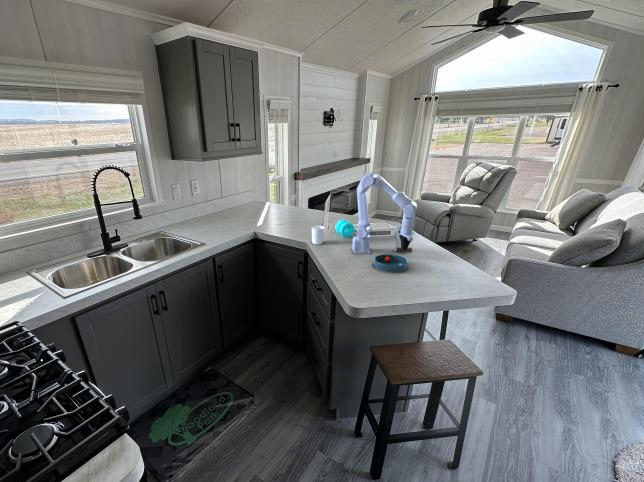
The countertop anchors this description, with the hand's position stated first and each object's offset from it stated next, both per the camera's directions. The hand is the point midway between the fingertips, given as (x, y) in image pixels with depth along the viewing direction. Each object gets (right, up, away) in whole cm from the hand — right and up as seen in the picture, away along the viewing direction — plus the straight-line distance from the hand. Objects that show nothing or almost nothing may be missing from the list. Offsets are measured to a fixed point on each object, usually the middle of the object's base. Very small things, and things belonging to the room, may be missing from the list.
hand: (404, 249), depth 177 cm
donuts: (-24, +16, +37) cm, 47 cm away
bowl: (-11, -10, -8) cm, 16 cm away
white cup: (-43, +5, +28) cm, 52 cm away
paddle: (0, -1, +1) cm, 2 cm away
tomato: (-10, -7, -4) cm, 13 cm away
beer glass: (+2, 0, +11) cm, 11 cm away
